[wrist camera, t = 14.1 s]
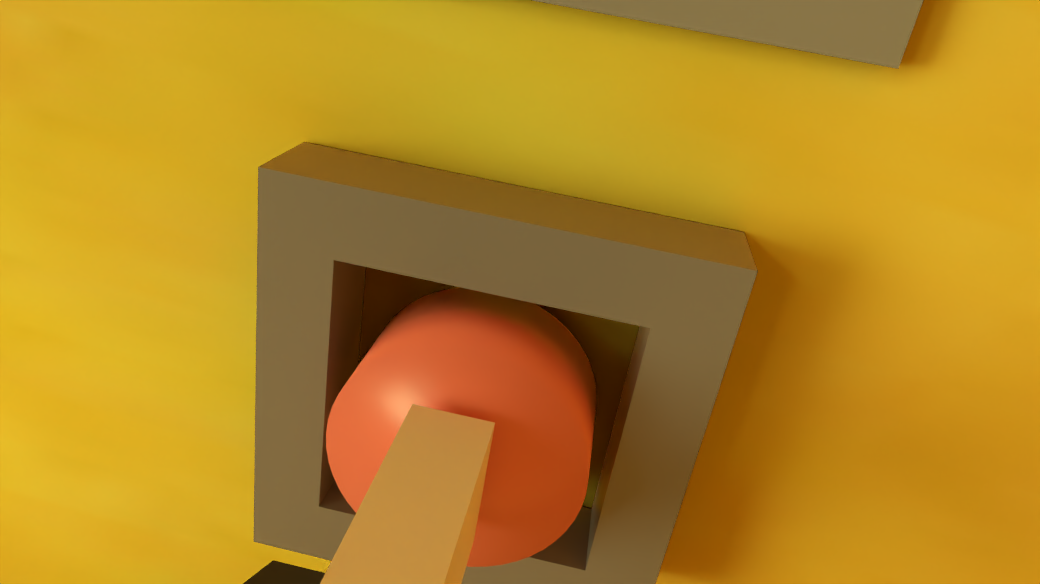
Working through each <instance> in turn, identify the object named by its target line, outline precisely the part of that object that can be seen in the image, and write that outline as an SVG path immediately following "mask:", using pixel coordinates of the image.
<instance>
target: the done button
mask: <svg viewBox="0 0 1040 584" xmlns="http://www.w3.org/2000/svg"><path fill="white" fill-rule="evenodd" d="M412 404H415V405H419V406H424V407H428V408H433V409H437V410H441V411H446V412H450V413H455V414H459V415H463V416H468V417H472V418H477V419H481V420H486V421H490V422H494V423H495V426H494V431H493V437H492V443H491V448H490V454H489V459H488V465H487V470H486V476H485V482H484V487H483V493H482V498H481V504H480V510H479V515H478V521H477V526H476V532H475V537H474V542H473V545H472V548H471V552H470V555H469V559H468V562H467V567H488V566H496V565H503V564H507V563H512V562H516V561H519V560H522V559H524V558H527V557H530V556H532V555H534V554H536V553H538V552H540V551H542V550H544V549H545V548H547V547H548V546H549V545H551V544H552V543H554V542H555V541H556V540H557V539H558V538H559V537H560V536H562V535H563V534H564V533H565V532H566V531H567V529H568V528H569V527H570V525H571V524H572V523H573V522H574V520H575V518H576V517H577V515H578V513H579V511H580V509H581V507H582V504H583V501H584V499H585V496H586V491H587V485H588V479H589V470H590V461H591V452H592V443H593V434H594V425H595V416H596V407H597V390H596V383H595V378H594V374H593V371H592V368H591V365H590V363H589V360H588V358H587V356H586V354H585V352H584V350H583V349H582V347H581V346H580V344H579V343H578V341H577V340H576V338H575V337H574V336H573V335H572V334H571V332H570V331H569V330H568V329H567V328H566V327H565V326H564V325H563V324H562V323H561V322H560V321H559V320H558V319H557V318H555V317H554V316H553V315H551V314H550V313H548V312H547V311H546V310H544V309H543V308H541V307H539V306H538V305H536V304H534V303H530V302H526V301H521V300H517V299H512V298H507V297H503V296H498V295H493V294H489V293H484V292H480V291H475V290H470V289H466V288H452V289H447V290H443V291H438V292H435V293H432V294H429V295H427V296H424V297H422V298H420V299H418V300H416V301H414V302H412V303H411V304H409V305H408V306H406V307H405V308H404V309H402V310H401V311H400V312H399V313H398V314H397V315H396V316H395V317H394V318H393V319H392V320H391V321H390V322H389V323H388V324H387V326H386V327H385V328H384V330H383V331H382V333H381V334H380V335H379V337H378V338H377V340H376V341H375V343H374V344H373V345H372V347H371V348H370V350H369V351H368V353H367V354H366V355H365V357H364V358H363V360H362V361H361V363H360V364H359V365H358V367H357V368H356V370H355V371H354V372H353V374H352V375H351V377H350V378H349V380H348V381H347V382H346V384H345V385H344V387H343V388H342V390H341V391H340V392H339V394H338V396H337V398H336V400H335V402H334V404H333V406H332V409H331V412H330V415H329V418H328V423H327V430H326V449H327V455H328V462H329V465H330V468H331V471H332V474H333V477H334V479H335V481H336V483H337V486H338V488H339V490H340V491H341V493H342V495H343V496H344V498H345V499H346V501H347V502H348V504H349V505H350V506H351V507H352V509H353V510H354V511H355V512H356V513H357V511H358V509H359V507H360V505H361V503H362V501H363V499H364V497H365V495H366V493H367V491H368V489H369V487H370V485H371V483H372V481H373V479H374V478H375V476H376V474H377V472H378V470H379V468H380V466H381V464H382V462H383V460H384V458H385V456H386V454H387V452H388V450H389V448H390V446H391V444H392V443H393V441H394V439H395V437H396V435H397V433H398V431H399V429H400V427H401V425H402V423H403V421H404V419H405V417H406V415H407V413H408V411H409V409H410V408H411V406H412Z"/></svg>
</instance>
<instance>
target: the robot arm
mask: <svg viewBox="0 0 1040 584" xmlns="http://www.w3.org/2000/svg"><path fill="white" fill-rule="evenodd" d="M494 426H495V423H494V422H490V421H486V420H481V419H477V418H472V417H468V416H463V415H459V414H455V413H450V412H446V411H441V410H437V409H433V408H428V407H424V406H419V405H415V404H412V406H411V408H410V409H409V411H408V413H407V415H406V417H405V419H404V421H403V423H402V425H401V427H400V429H399V431H398V433H397V435H396V437H395V439H394V441H393V443H392V444H391V446H390V448H389V450H388V452H387V454H386V456H385V458H384V460H383V462H382V464H381V466H380V468H379V470H378V472H377V474H376V476H375V478H374V479H373V481H372V483H371V485H370V487H369V489H368V491H367V493H366V495H365V497H364V499H363V501H362V503H361V505H360V507H359V509H358V511H357V513H356V515H355V516H354V518H353V520H352V522H351V524H350V526H349V528H348V530H347V532H346V534H345V536H344V538H343V540H342V542H341V544H340V546H339V548H338V550H337V551H336V553H335V555H334V557H333V559H332V561H331V563H330V565H329V567H328V569H327V571H326V573H322V572H318V571H314V570H310V569H306V568H302V567H298V566H294V565H290V564H285V563H281V562H277V561H272V562H271V563H269V564H268V565H267V566H265V567H264V568H263V569H261V570H260V571H259V572H258V573H256V574H255V575H254V576H252V577H251V578H250V579H248V580H247V581H246V582H245V583H243V584H461V583H462V579H463V576H464V573H465V569H466V566H467V562H468V559H469V555H470V552H471V548H472V545H473V542H474V537H475V532H476V526H477V521H478V515H479V510H480V504H481V498H482V493H483V487H484V482H485V476H486V470H487V465H488V459H489V454H490V448H491V443H492V437H493V431H494Z"/></svg>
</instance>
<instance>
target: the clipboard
mask: <svg viewBox="0 0 1040 584" xmlns="http://www.w3.org/2000/svg"><path fill="white" fill-rule="evenodd" d="M533 1H539V2H544V3H549V4H555V5H560V6H565V7H571V8H576V9H581V10H587V11H592V12H597V13H603V14H608V15H614V16H619V17H624V18H630V19H635V20H640V21H646V22H651V23H656V24H662V25H667V26H672V27H678V28H683V29H688V30H694V31H699V32H705V33H710V34H715V35H721V36H726V37H731V38H737V39H742V40H747V41H753V42H758V43H763V44H769V45H774V46H779V47H785V48H790V49H796V50H801V51H806V52H812V53H817V54H822V55H828V56H833V57H838V58H844V59H849V60H854V61H860V62H865V63H870V64H876V65H881V66H887V67H892V68H897V69H898V68H899V65H900V63H901V60H902V57H903V55H904V52H905V49H906V46H907V44H908V41H909V38H910V36H911V33H912V30H913V28H914V25H915V22H916V19H917V17H918V14H919V11H920V9H921V6H922V3H923V0H533Z"/></svg>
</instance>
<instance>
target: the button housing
mask: <svg viewBox="0 0 1040 584" xmlns="http://www.w3.org/2000/svg"><path fill="white" fill-rule="evenodd" d="M366 267H368V268H373V269H378V270H382V271H387V272H392V273H396V274H401V275H405V276H410V277H415V278H419V279H424V280H429V281H433V282H438V283H442V284H447V285H452V286H456V287H461V288H466V289H470V290H475V291H480V292H484V293H489V294H493V295H498V296H503V297H507V298H512V299H517V300H521V301H526V302H530V303H535V304H540V305H544V306H549V307H554V308H558V309H563V310H568V311H572V312H577V313H581V314H586V315H591V316H595V317H600V318H605V319H609V320H614V321H618V322H623V323H628V324H632V325H637V326H639V330H638V334H637V338H636V341H635V345H634V349H633V353H632V357H631V360H630V364H629V368H628V372H627V376H626V380H625V383H624V387H623V391H622V395H621V399H620V402H619V406H618V410H617V414H616V418H615V421H614V425H613V429H612V433H611V437H610V441H609V444H608V448H607V452H606V456H605V460H604V463H603V467H602V471H601V475H600V479H599V482H598V486H597V490H596V494H595V498H594V502H593V505H592V509H590V508H586V507H581V509H580V511H579V513H578V515H577V517H576V518H575V520H574V522H573V523H572V524H571V525H570V527H569V528H568V529H567V531H566V532H565V533H564V534H563V535H562V536H560V537H559V538H558V539H557V540H556V541H555V542H554V543H552V544H551V545H549V546H548V547H547V548H545V549H544V550H542V551H540V552H538V553H536V554H534V555H532V556H530V557H527V558H524V559H522V560H519V561H516V562H512V563H507V564H503V565H496V566H488V567H467V566H466V569H465V573H464V576H463V579H462V583H461V584H655V583H656V580H657V577H658V574H659V571H660V568H661V565H662V562H663V559H664V556H665V553H666V550H667V547H668V544H669V540H670V537H671V534H672V531H673V528H674V525H675V522H676V519H677V516H678V513H679V510H680V507H681V504H682V501H683V498H684V495H685V492H686V489H687V486H688V482H689V479H690V476H691V473H692V470H693V467H694V464H695V461H696V458H697V455H698V452H699V449H700V446H701V443H702V440H703V437H704V434H705V431H706V428H707V424H708V421H709V418H710V415H711V412H712V409H713V406H714V403H715V400H716V397H717V394H718V391H719V388H720V385H721V382H722V379H723V376H724V373H725V370H726V366H727V363H728V360H729V357H730V354H731V351H732V348H733V345H734V342H735V339H736V336H737V333H738V330H739V327H740V324H741V321H742V318H743V315H744V312H745V308H746V305H747V302H748V299H749V296H750V293H751V290H752V287H753V284H754V281H755V278H756V275H757V272H758V270H757V267H756V265H755V262H754V259H753V256H752V253H751V250H750V247H749V244H748V242H747V239H746V236H745V233H744V232H741V231H736V230H731V229H726V228H722V227H717V226H712V225H707V224H702V223H697V222H692V221H687V220H683V219H678V218H673V217H668V216H663V215H658V214H653V213H648V212H643V211H639V210H634V209H629V208H624V207H619V206H614V205H609V204H604V203H600V202H595V201H590V200H585V199H580V198H575V197H570V196H565V195H561V194H556V193H551V192H546V191H541V190H536V189H531V188H526V187H521V186H517V185H512V184H507V183H502V182H497V181H492V180H487V179H482V178H478V177H473V176H468V175H463V174H458V173H453V172H448V171H443V170H439V169H434V168H429V167H424V166H419V165H414V164H409V163H404V162H400V161H395V160H390V159H385V158H380V157H375V156H370V155H365V154H360V153H356V152H351V151H346V150H341V149H336V148H331V147H326V146H321V145H317V144H312V143H307V142H303V143H301V144H300V145H298V146H296V147H294V148H292V149H290V150H289V151H287V152H285V153H283V154H281V155H279V156H278V157H276V158H274V159H272V160H270V161H269V162H267V163H265V164H263V165H261V166H259V167H258V244H257V323H256V403H255V483H254V542H258V543H262V544H266V545H270V546H274V547H278V548H282V549H286V550H290V551H294V552H298V553H302V554H307V555H311V556H315V557H319V558H323V559H327V560H331V561H332V559H333V557H334V555H335V553H336V551H337V550H338V548H339V546H340V544H341V542H342V540H343V538H344V536H345V534H346V532H347V530H348V528H349V526H350V524H351V522H352V520H353V518H354V516H355V515H356V512H355V511H354V510H353V509H352V507H351V506H350V505H349V504H348V502H347V501H346V499H345V498H344V496H343V495H342V493H341V491H340V490H339V488H338V486H337V483H336V481H335V479H334V477H333V474H332V471H331V468H330V465H329V462H328V455H327V449H326V430H327V423H328V418H329V415H330V412H331V409H332V406H333V404H334V402H335V400H336V398H337V396H338V394H339V392H340V391H341V390H342V388H343V387H344V385H345V384H346V382H347V381H348V380H349V378H350V377H351V375H352V374H353V372H354V371H355V370H356V368H357V367H358V360H359V348H360V335H361V323H362V311H363V298H364V286H365V273H366Z"/></svg>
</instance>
